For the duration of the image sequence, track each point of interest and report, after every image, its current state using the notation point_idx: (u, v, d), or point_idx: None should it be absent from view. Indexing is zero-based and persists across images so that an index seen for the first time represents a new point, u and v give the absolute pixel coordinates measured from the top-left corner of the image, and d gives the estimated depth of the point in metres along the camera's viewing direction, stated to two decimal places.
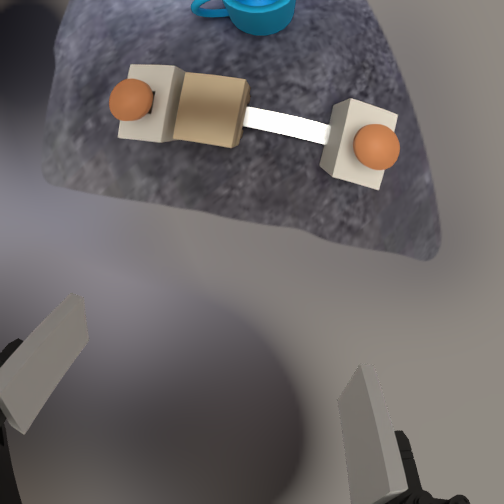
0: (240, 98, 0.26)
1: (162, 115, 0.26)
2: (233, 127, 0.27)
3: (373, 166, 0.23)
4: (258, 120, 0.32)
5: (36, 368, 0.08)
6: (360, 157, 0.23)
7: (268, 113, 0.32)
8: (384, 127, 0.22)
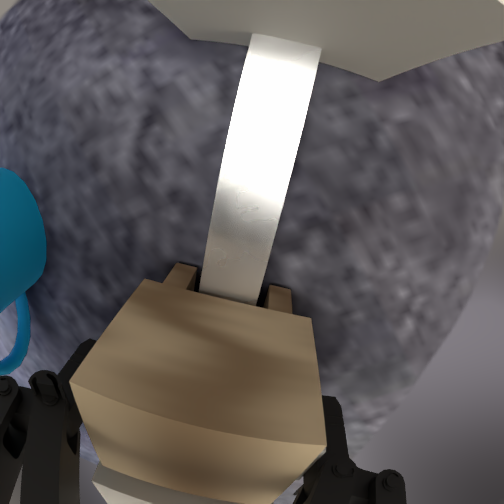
0: (135, 408, 0.06)
1: None
2: (248, 440, 0.06)
3: None
4: (241, 260, 0.11)
5: None
6: None
7: (217, 232, 0.11)
8: None
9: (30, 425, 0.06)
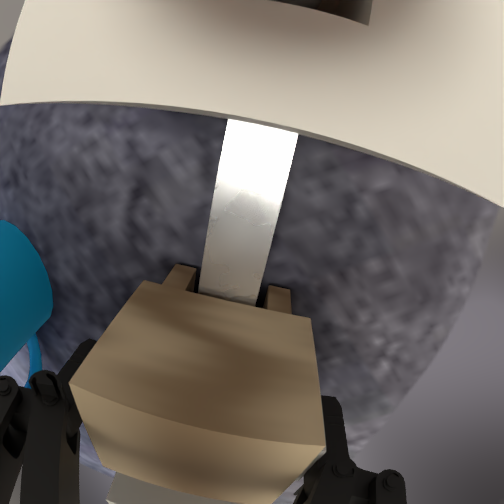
0: (134, 409, 0.06)
1: None
2: (247, 441, 0.06)
3: None
4: None
5: None
6: None
7: None
8: None
9: (30, 425, 0.06)
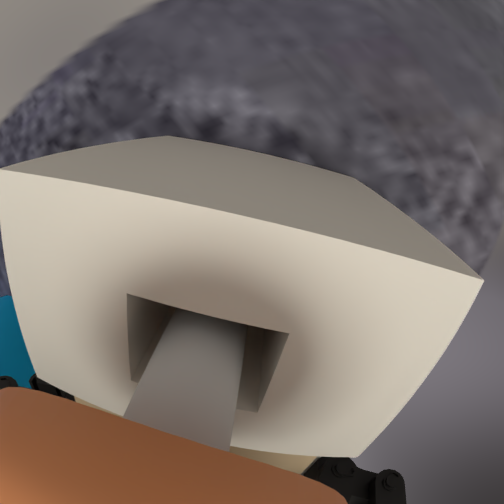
0: None
1: None
2: None
3: None
4: None
5: None
6: None
7: None
8: None
9: None
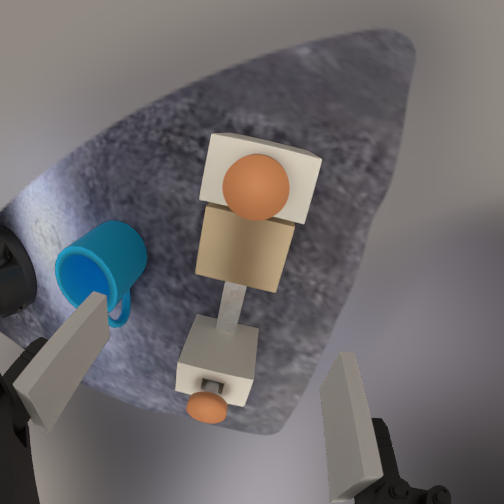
0: (231, 212, 0.23)
1: (226, 376, 0.29)
2: (268, 223, 0.23)
3: (283, 195, 0.18)
4: None
5: (62, 366, 0.09)
6: (272, 214, 0.18)
7: None
8: (226, 180, 0.18)
9: None
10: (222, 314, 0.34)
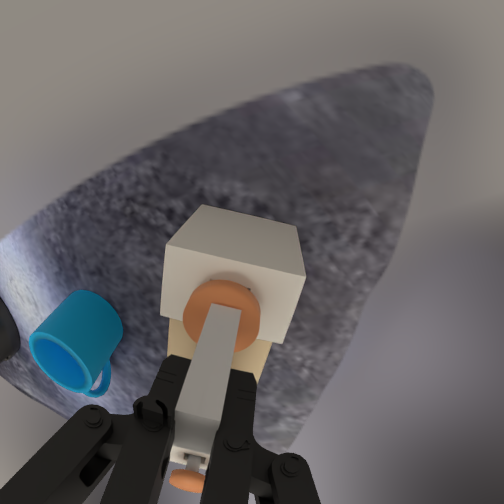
0: None
1: None
2: None
3: (253, 332, 0.15)
4: None
5: None
6: (240, 348, 0.16)
7: None
8: (186, 314, 0.15)
9: (124, 448, 0.07)
10: None
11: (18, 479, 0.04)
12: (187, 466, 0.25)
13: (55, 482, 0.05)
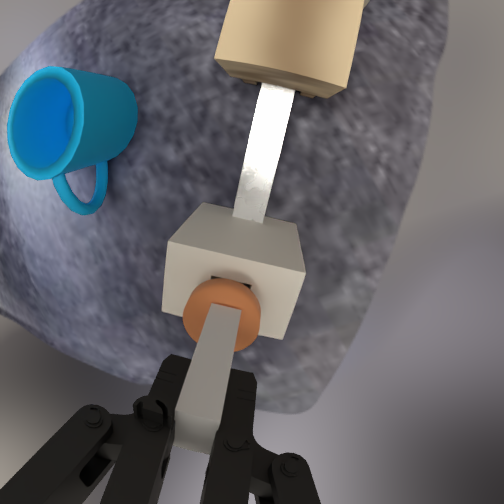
0: None
1: (257, 266, 0.17)
2: None
3: None
4: (276, 109, 0.20)
5: None
6: None
7: (264, 94, 0.19)
8: None
9: (124, 448, 0.07)
10: (244, 189, 0.22)
11: (18, 479, 0.04)
12: None
13: (55, 482, 0.05)
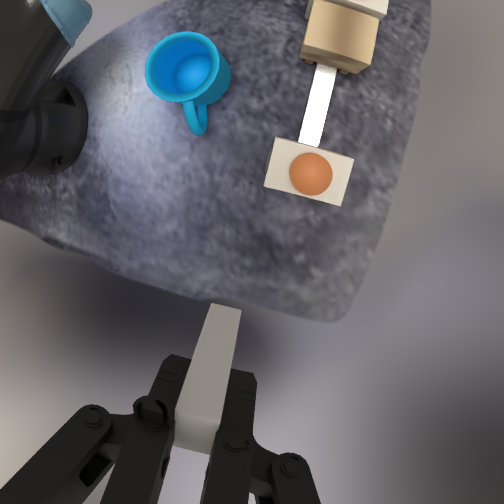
0: (333, 4, 0.21)
1: (327, 154, 0.27)
2: (360, 13, 0.21)
3: None
4: (326, 78, 0.30)
5: None
6: None
7: (319, 69, 0.30)
8: None
9: (124, 448, 0.07)
10: (307, 125, 0.33)
11: (18, 479, 0.04)
12: None
13: (55, 482, 0.05)
